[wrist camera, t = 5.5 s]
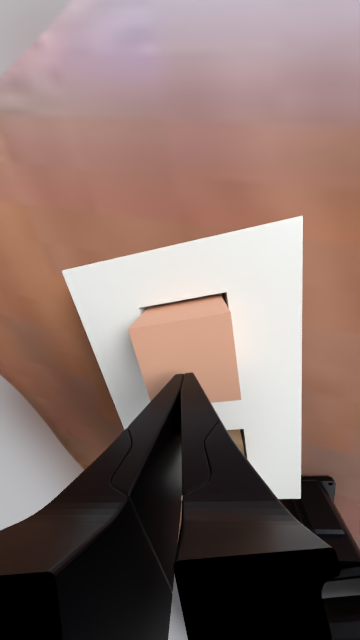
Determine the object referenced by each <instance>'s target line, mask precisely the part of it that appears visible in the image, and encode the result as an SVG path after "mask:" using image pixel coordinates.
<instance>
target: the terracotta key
mask: <svg viewBox="0 0 360 640" xmlns="http://www.w3.org/2000/svg"><path fill="white" fill-rule="evenodd" d="M128 331H129V335H130V338H131V341H132V344H133V347H134V351H135V354H136V357H137V360H138V363H139V366H140V370H141V373H142V376H143V379H144V382H145V385H146V389H147V392H148V395H149V398H150V401H151V400H152V399H153V398H154V397H155V396H156V395H157V394H158V393H159V392H160V391H161V389H162V388H163V387H164V386H165V385H166V384H167V383H168V382H169V381H170V380H171V379H172V377H173V376H174V375H175V374H182V373H183V374H185V373H190V372H193V373H194V375H195V376H196V378H197V380H198V382H199V383H200V385H201V387H202V388H203V390H204V392H205V394H206V395H207V397H208V399H209V401H210V402H211V403H214V402H225V401H236V400H241V392H240V384H239V376H238V368H237V359H236V351H235V343H234V335H233V326H232V318H231V312H230V310H229V308H228V307H227V305H226V303H225V301H224V300H223V298H222V296H221V295H215V296H209V297H203V298H198V299H192V300H187V301H181V302H176V303H170V304H164V305H159V306H153V307H148V308H147V309H146V310H145V311H144V312H143V313H142V315H141V316H140V317H139V318H138V319H137V320H136V321H135V322H134V323H133V324H132V325H131V326H130V327H129V328H128Z"/></svg>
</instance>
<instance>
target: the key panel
mask: <svg viewBox="0 0 360 640" xmlns="http://www.w3.org/2000/svg"><path fill="white" fill-rule="evenodd" d="M302 240H303V216H299V217H295V218H290V219H286V220H282V221H277V222H273V223H269V224H264V225H260V226H255V227H251V228H247V229H242V230H238V231H233V232H229V233H225V234H220V235H216V236H212V237H207V238H203V239H198V240H194V241H190V242H185V243H181V244H176V245H172V246H168V247H163V248H159V249H155V250H150V251H146V252H141V253H137V254H133V255H128V256H124V257H119V258H115V259H111V260H106V261H102V262H98V263H93V264H89V265H84V266H80V267H76V268H71V269H67V270H63V271H62V273H63V275H64V278H65V280H66V283H67V285H68V288H69V290H70V293H71V295H72V298H73V301H74V303H75V306H76V308H77V311H78V313H79V316H80V318H81V321H82V323H83V326H84V328H85V331H86V333H87V336H88V339H89V341H90V344H91V346H92V349H93V351H94V354H95V356H96V359H97V361H98V364H99V366H100V369H101V371H102V374H103V377H104V379H105V382H106V384H107V387H108V389H109V392H110V394H111V397H112V399H113V402H114V404H115V407H116V409H117V412H118V415H119V417H120V420H121V422H122V425H123V427H124V430H125V429H126V428H128V426H129V425H130V424H131V422H132V421H133V420H134V419H135V418H136V417H137V416H138V415H139V414H140V413H141V411H142V410H143V409H144V408H145V407H146V406H147V405H148V404H149V403H150V402H151V401H150V398H149V395H148V392H147V389H146V385H145V382H144V379H143V376H142V373H141V370H140V366H139V363H138V360H137V357H136V354H135V351H134V347H133V344H132V341H131V338H130V335H129V331H128V328H129V327H130V326H131V325H132V324H133V323H134V322H135V321H136V320H137V319H138V318H139V317H140V316H141V315H142V313H143V312H144V311H145V310H146V309H147V308H148V307H153V306H159V305H164V304H170V303H176V302H181V301H187V300H192V299H198V298H203V297H209V296H215V295H221V296H222V298H223V300H224V301H225V303H226V305H227V307H228V308H229V310H230V312H231V318H232V326H233V335H234V343H235V351H236V359H237V368H238V376H239V384H240V392H241V400H236V401H225V402H214V403H211V404H212V406H213V407H214V409H215V411H216V413H217V414H218V416H219V418H220V420H221V421H222V423H223V425H224V426H225V428H226V430H236V429H240V433H241V438H242V442H243V447H244V455H245V457H246V458H247V460H248V461H249V462H250V464H251V465H252V466H253V467H254V469H255V470H256V471H257V473H258V474H259V475H260V476H261V478H262V479H263V480H264V482H265V483H266V484H267V485H268V487H269V488H270V489H271V491H272V492H273V493H274V494H275V496H276V497H277V498H278V499H301V392H302Z"/></svg>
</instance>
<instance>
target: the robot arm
mask: <svg viewBox="0 0 360 640" xmlns="http://www.w3.org/2000/svg"><path fill="white" fill-rule="evenodd" d="M334 494H335V481H334V480H333V478H332V477H302V478H301V499H278V498H277V497H276V496H275V494H274V493H273V492H272V491H271V489H270V488H269V487H268V485H267V484H266V483H265V482H264V480H263V479H262V478H261V476H260V475H259V474H258V473H257V471H256V470H255V469H254V467H253V466H252V465H251V464H250V462H249V461H248V460H247V458H246V457H245V456H244V455H243V453H242V452H241V450H240V449H239V448H238V446H237V445H236V444H235V442H234V441H233V439H232V438H231V436H230V434H229V433H228V431H227V430H226V428H225V426H224V425H223V423H222V421H221V420H220V418H219V416H218V414H217V413H216V411H215V409H214V407H213V406H212V404H211V402H210V401H209V399H208V397H207V395H206V394H205V392H204V390H203V388H202V387H201V385H200V383H199V382H198V380H197V378H196V376H195V375H194V373H193V372H190V373H185V374H183V373H182V374H175V375H174V376H173V377H172V379H171V380H170V381H169V382H168V383H167V384H166V385H165V386H164V387H163V388H162V389H161V391H160V392H159V393H158V394H157V395H156V396H155V397H154V398H153V399H152V400H151V402H150V403H149V404H148V405H147V406H146V407H145V408H144V409H143V410H142V411H141V413H140V414H139V415H138V416H137V417H136V418H135V419H134V420H133V421H132V422H131V424H130V425H129V426H128V428H126V429H125V430H124V431H123V432H122V433H121V434H120V436H119V437H118V438H117V439H116V440H115V441H114V442H113V443H112V444H111V445H110V446H109V447H108V448H107V449H106V450H105V451H104V452H103V453H102V454H101V455H100V456H99V457H98V458H97V459H96V460H95V461H94V462H93V463H92V464H91V465H90V466H89V467H87V468H86V469H85V470H84V471H83V472H82V473H81V474H80V475H79V476H78V477H77V478H76V479H75V480H74V481H73V482H72V483H71V484H70V485H68V486H67V487H66V488H65V489H64V490H63V491H62V492H61V493H60V494H59V495H58V496H57V497H56V498H55V499H54V500H52V501H51V502H50V503H49V504H48V505H46V506H45V507H44V508H43V509H41V510H40V511H38V512H37V513H35V514H34V515H32V516H30V517H29V518H27V519H25V520H23V521H21V522H19V523H17V524H14V525H12V526H10V527H7V528H5V529H3V530H1V531H0V640H168V633H169V623H170V613H171V603H172V590H173V582H174V573H175V578H176V583H177V588H178V593H179V597H180V602H181V607H182V612H183V617H184V621H185V627H186V631H187V636H188V640H360V550H359V548H358V546H357V544H356V542H355V540H354V539H353V537H352V535H351V533H350V531H349V530H348V528H347V526H346V524H345V522H344V520H343V519H342V517H341V515H340V513H339V511H338V510H337V508H336V506H335V504H334ZM181 501H182V522H181V529H180V534H179V540H178V531H179V521H180V511H181ZM177 541H178V545H177Z"/></svg>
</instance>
